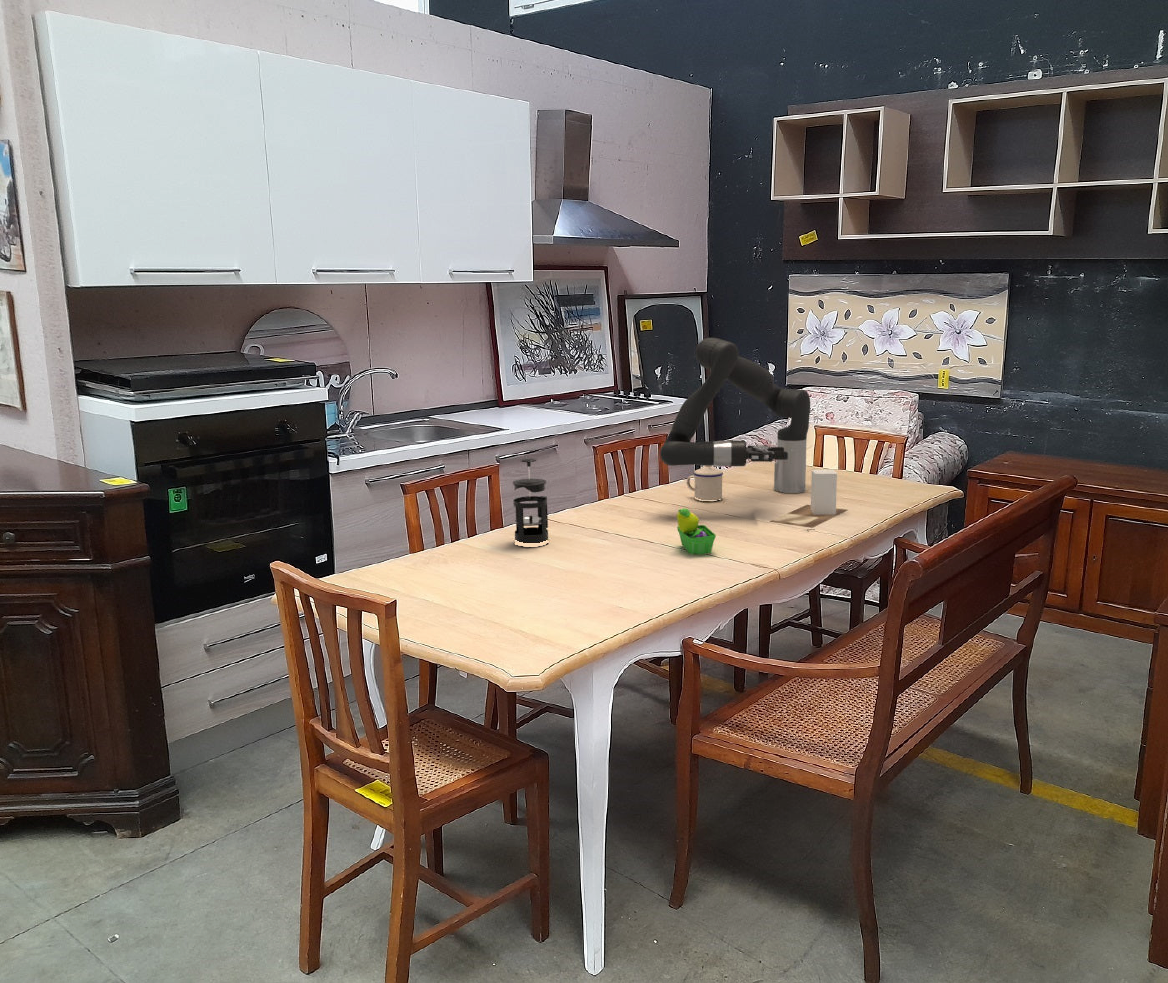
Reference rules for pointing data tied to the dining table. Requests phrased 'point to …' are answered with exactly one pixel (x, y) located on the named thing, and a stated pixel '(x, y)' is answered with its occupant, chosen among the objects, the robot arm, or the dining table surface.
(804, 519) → the board
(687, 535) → the fruit basket
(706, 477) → the teacup with lid
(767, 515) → the dining table surface
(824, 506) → the white rounded block
